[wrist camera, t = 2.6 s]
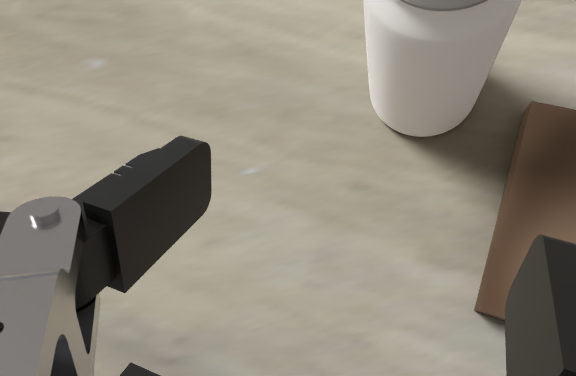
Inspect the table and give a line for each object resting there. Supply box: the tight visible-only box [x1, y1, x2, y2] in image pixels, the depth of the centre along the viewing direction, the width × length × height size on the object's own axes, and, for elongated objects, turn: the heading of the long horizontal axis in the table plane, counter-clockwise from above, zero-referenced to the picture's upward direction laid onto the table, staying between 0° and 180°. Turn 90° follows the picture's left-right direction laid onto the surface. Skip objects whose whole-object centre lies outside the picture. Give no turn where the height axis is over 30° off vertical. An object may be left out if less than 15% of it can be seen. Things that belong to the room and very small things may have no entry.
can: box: [364, 0, 521, 137], centre depth 22 cm, size 6×6×12 cm
